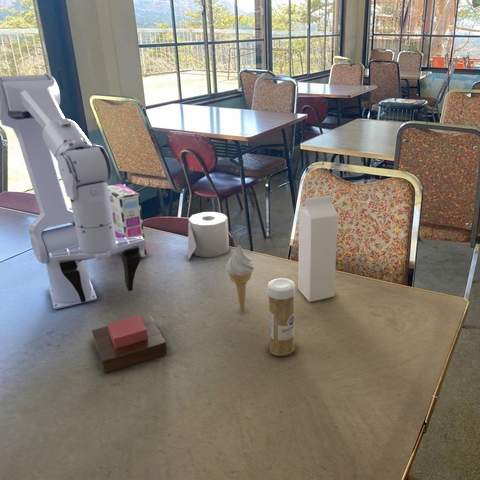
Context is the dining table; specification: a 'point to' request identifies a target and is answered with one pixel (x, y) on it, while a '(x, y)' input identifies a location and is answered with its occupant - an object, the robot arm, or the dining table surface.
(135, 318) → the back pad
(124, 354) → the block
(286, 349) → the sprinkles bottle
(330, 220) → the milk
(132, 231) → the candy bar box
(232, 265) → the ice cream cone
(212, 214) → the toilet tissue
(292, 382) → the dining table surface
